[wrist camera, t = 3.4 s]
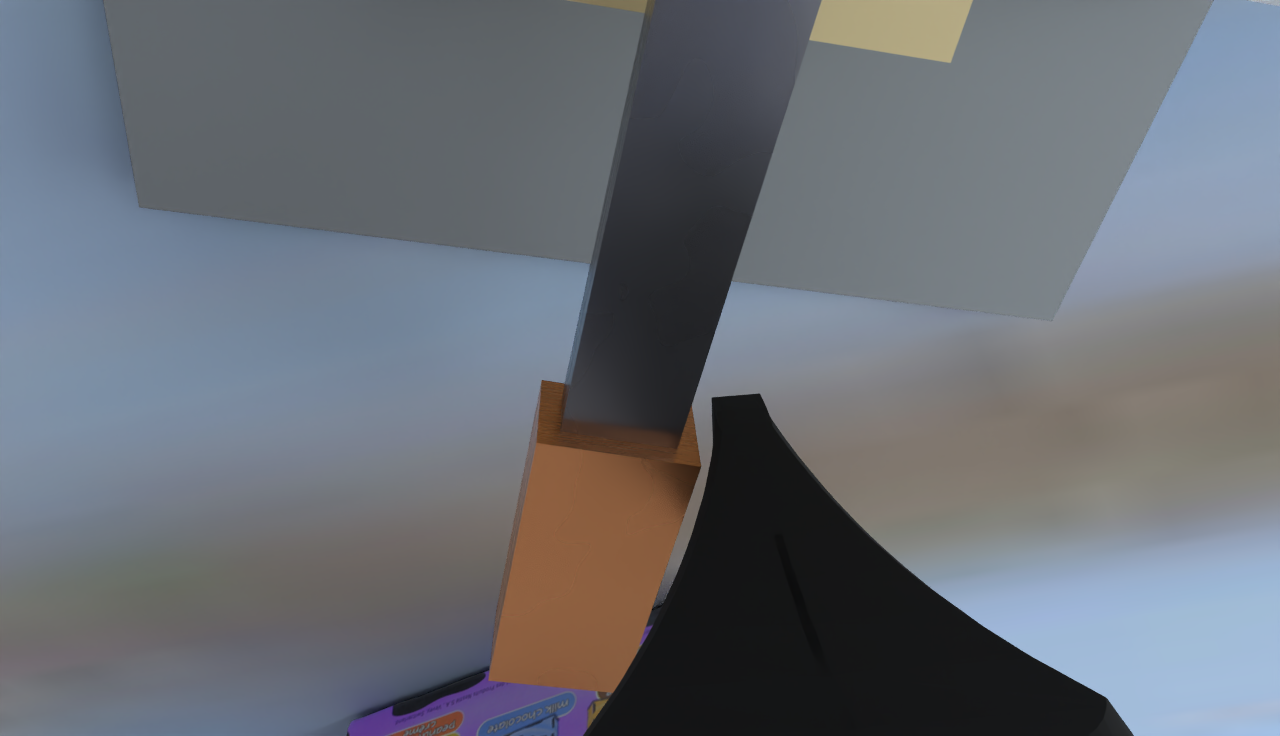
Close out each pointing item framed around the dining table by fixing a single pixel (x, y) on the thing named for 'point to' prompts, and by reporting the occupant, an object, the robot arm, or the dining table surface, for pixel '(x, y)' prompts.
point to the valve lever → (643, 339)
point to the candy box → (490, 709)
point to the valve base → (591, 117)
